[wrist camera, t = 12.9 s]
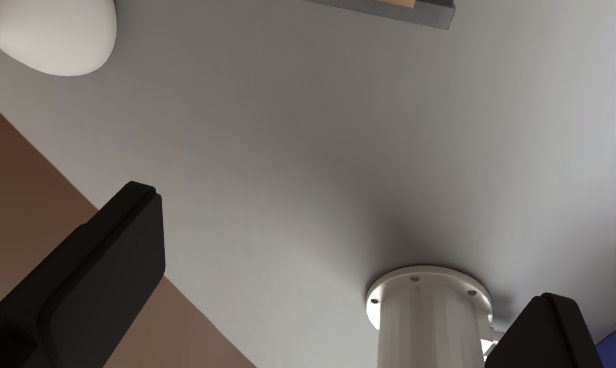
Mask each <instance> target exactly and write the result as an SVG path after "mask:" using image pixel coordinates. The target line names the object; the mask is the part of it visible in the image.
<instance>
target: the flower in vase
mask: <svg viewBox="0 0 616 368" xmlns="http://www.w3.org/2000/svg"><path fill="white" fill-rule="evenodd" d="M116 31H117V22H116V11H115V5H114V1H113V0H0V49H1V50H3V51H4V52H5V53H6V54H8V55H10V56H11V57H13V58H14V59H16V60H18V61H20V62H22V63H23V64H25V65H27V66H29V67H31V68H34V69H36V70H38V71H41V72H44V73H47V74H52V75H57V76H76V75H84V74H87V73H90V72H92V71H95V70H96V69H98V68H99V67H101V66H102V65H103V64H104V63H105V62H106V61H107V59H108V58H109V56H110V54H111V53H112V50H113V47H114V44H115V40H116Z"/></svg>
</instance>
